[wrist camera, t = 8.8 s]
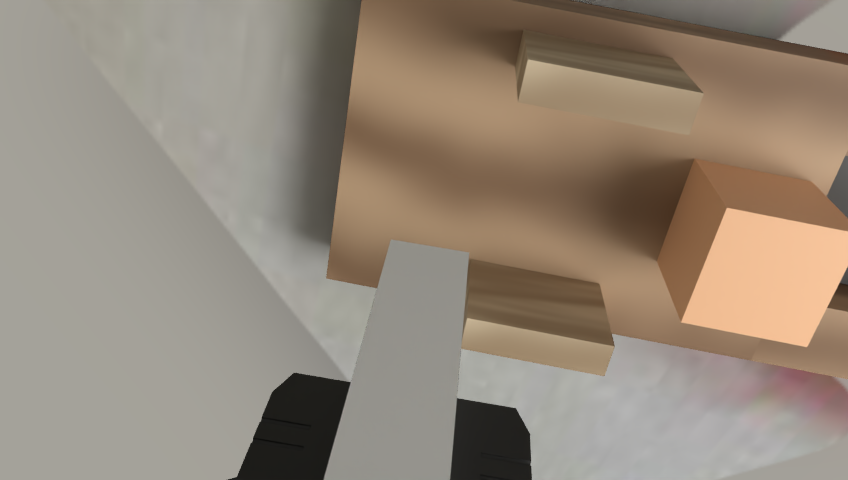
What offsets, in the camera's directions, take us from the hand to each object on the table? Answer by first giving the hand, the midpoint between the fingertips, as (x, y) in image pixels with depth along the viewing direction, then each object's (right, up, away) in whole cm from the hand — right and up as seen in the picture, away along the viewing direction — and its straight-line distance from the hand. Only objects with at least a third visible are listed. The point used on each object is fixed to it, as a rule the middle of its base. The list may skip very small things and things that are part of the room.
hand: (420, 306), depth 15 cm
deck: (+11, +4, +20) cm, 23 cm away
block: (+13, +2, +18) cm, 22 cm away
